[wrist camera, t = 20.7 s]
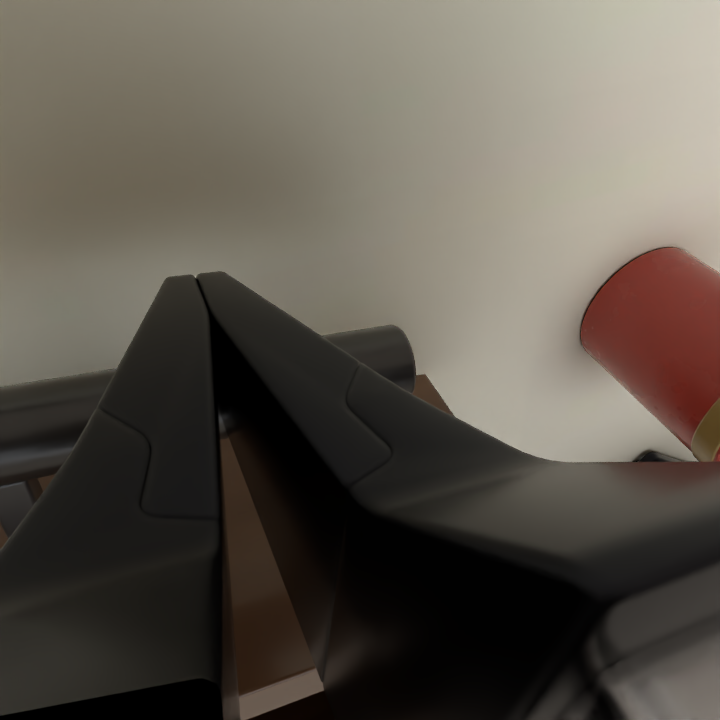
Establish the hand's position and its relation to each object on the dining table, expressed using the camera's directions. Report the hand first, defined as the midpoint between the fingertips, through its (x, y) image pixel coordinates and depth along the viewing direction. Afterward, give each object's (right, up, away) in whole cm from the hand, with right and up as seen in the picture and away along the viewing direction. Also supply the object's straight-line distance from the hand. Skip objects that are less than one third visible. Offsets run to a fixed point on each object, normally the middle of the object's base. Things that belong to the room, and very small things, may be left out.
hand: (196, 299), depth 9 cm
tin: (+12, +1, +11) cm, 17 cm away
